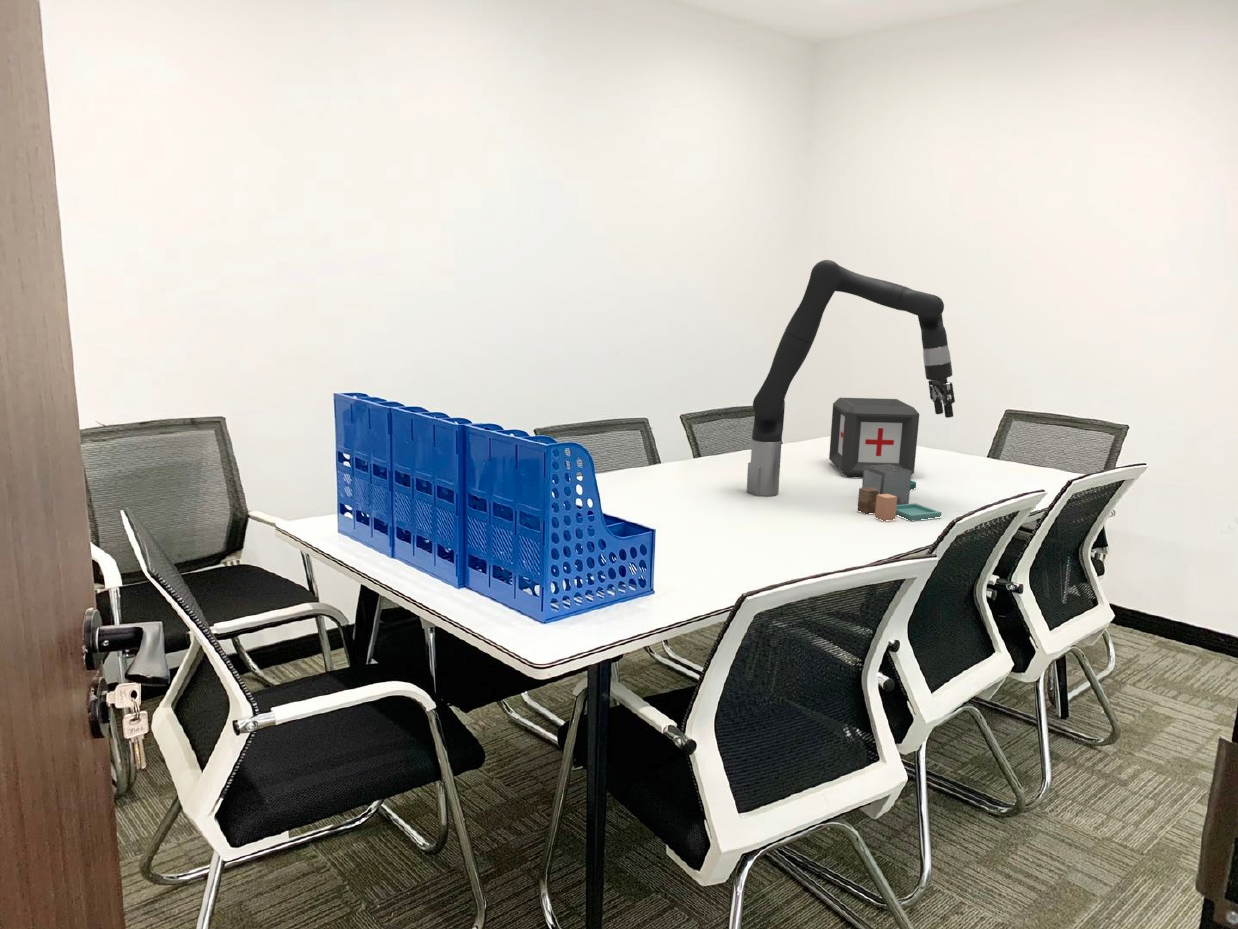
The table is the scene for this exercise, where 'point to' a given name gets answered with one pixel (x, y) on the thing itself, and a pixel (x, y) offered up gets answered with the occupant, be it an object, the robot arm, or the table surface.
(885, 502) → the terracotta block
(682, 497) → the table surface
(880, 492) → the grey unit
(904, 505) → the teal tray
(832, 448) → the first aid kit
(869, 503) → the walnut block
